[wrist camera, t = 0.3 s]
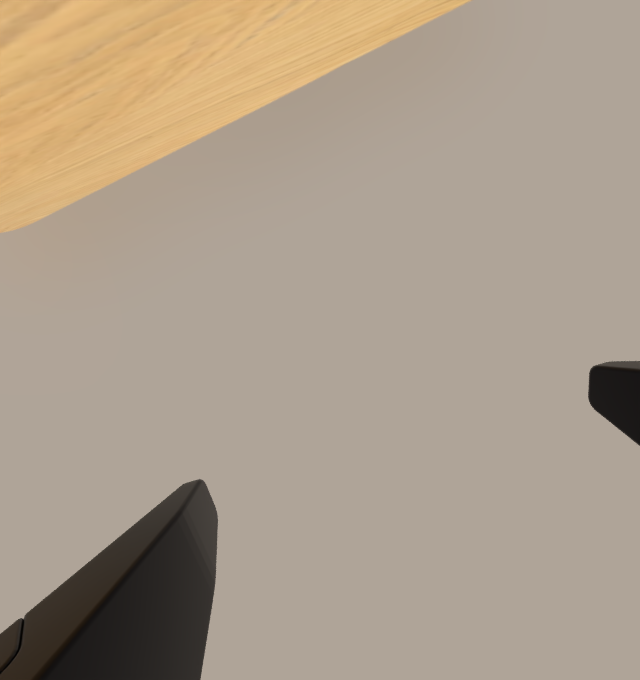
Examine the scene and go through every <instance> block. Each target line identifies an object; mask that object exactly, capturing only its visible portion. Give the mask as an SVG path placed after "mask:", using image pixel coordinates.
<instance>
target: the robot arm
mask: <svg viewBox="0 0 640 680" xmlns="http://www.w3.org/2000/svg"><path fill="white" fill-rule="evenodd" d="M588 398H589V402H590V404H591V406H592V407H593V408H594V409H595V410H596V411H597V412H598V413H600V414H601V415H602V416H603V417H605V418H606V419H607V420H608V421H609V422H611V423H612V424H613V425H615V426H616V427H617V428H618V429H619V430H621V431H622V432H623V433H625V434H626V435H627V436H628V437H630V438H631V439H632V440H633V441H634V442H636V443H637V444H638V445H640V361H621V362H619V361H617V362H606V363H603V364H599V365H596V366H593V367H592V368H591V370H590V373H589V392H588ZM217 527H218V518H217V511H216V508H215V505H214V503H213V501H212V498H211V495H210V493H209V491H208V488H207V486H206V484H205V482H204V481H203V480H201V479H199V480H195V481H191V482H188V483H185V484H183V485H182V486H180V487H179V488H178V489H177V490H176V491H174V492H173V493H172V494H171V495H169V496H168V497H167V498H166V499H165V500H163V501H162V502H161V503H160V504H159V505H157V506H156V507H155V508H154V509H153V510H151V511H150V512H149V513H148V514H146V515H145V516H144V517H143V518H142V519H140V520H139V521H138V522H137V523H136V524H134V525H133V526H132V527H131V528H129V529H128V530H127V531H126V532H125V533H123V534H122V535H121V536H120V537H119V538H117V539H116V540H115V541H114V542H113V543H111V544H110V545H109V546H108V547H106V548H105V549H104V550H103V551H102V552H100V553H99V554H98V555H97V556H96V557H94V558H93V559H92V560H91V561H90V562H88V563H87V564H86V565H85V566H84V567H82V568H81V569H80V570H79V571H77V572H76V573H75V574H74V575H73V576H71V577H70V578H69V579H68V580H67V581H65V582H64V583H63V584H62V585H60V586H59V587H58V588H57V589H56V590H54V591H53V592H52V593H51V594H50V595H48V596H47V597H46V598H45V599H43V601H41V602H40V603H39V604H37V605H36V606H35V607H34V608H33V609H31V610H30V611H29V612H28V613H27V614H26V615H25V617H24V619H22V618H20V619H18V620H17V621H16V622H14V623H13V624H12V625H11V626H9V627H8V628H7V629H6V630H5V631H3V632H2V633H1V634H0V680H200V678H201V672H202V665H203V659H204V653H205V646H206V640H207V634H208V628H209V621H210V615H211V609H212V602H213V595H214V588H215V578H216V555H217Z"/></svg>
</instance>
